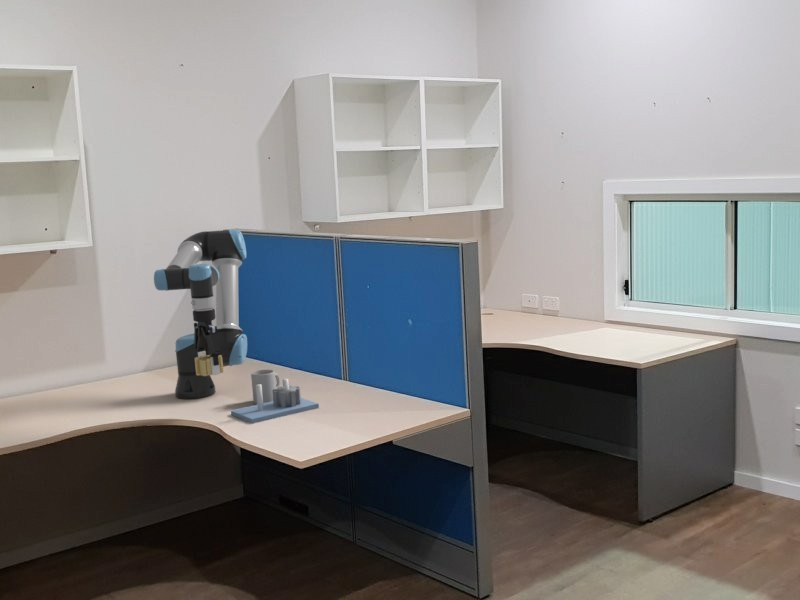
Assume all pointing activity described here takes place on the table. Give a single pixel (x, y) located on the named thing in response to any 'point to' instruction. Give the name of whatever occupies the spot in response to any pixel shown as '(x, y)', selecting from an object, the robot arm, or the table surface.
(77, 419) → the table surface
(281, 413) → the gear board
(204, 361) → the brass gear
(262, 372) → the mug
